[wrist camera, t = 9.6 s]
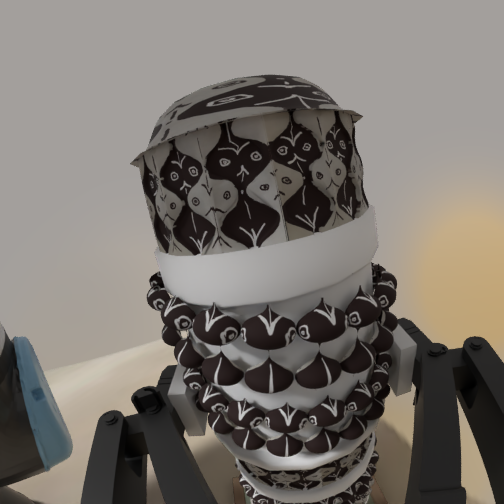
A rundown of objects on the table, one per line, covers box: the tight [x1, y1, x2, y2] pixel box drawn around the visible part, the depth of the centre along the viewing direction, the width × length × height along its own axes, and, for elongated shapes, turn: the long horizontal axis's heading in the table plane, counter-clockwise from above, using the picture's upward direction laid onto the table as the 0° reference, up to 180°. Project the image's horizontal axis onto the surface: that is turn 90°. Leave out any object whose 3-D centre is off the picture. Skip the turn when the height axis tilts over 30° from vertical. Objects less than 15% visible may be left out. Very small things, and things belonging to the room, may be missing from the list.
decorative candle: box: [130, 75, 398, 504], centre depth 13 cm, size 9×9×25 cm
